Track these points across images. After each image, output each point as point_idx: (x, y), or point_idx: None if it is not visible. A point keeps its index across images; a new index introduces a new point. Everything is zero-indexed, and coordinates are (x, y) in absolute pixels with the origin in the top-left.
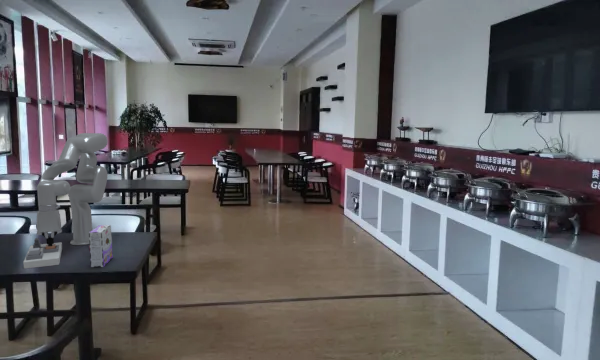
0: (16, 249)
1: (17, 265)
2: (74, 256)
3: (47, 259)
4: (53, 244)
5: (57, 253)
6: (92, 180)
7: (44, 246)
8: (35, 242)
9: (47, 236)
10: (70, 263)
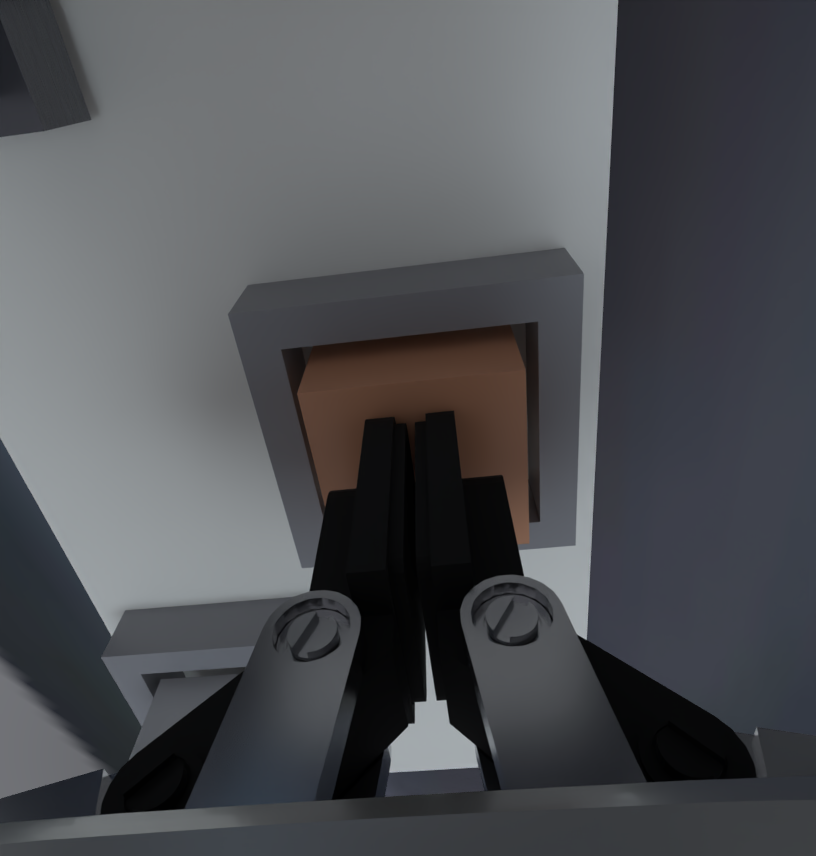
0: None
1: (74, 598)
2: (778, 432)
3: (451, 766)
4: (477, 403)
5: (555, 589)
6: None
7: None
8: None
9: (366, 765)
10: (683, 679)
